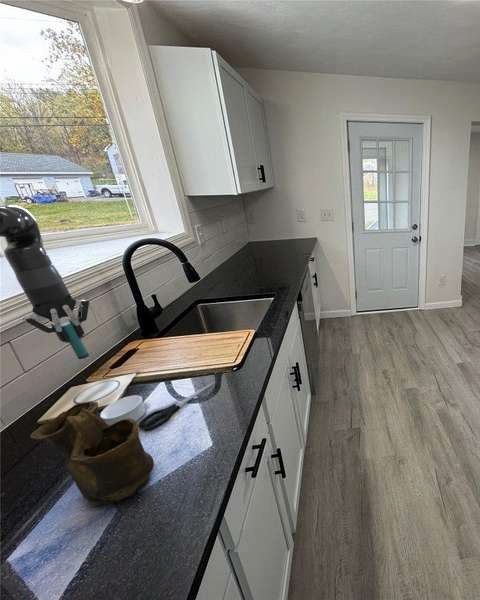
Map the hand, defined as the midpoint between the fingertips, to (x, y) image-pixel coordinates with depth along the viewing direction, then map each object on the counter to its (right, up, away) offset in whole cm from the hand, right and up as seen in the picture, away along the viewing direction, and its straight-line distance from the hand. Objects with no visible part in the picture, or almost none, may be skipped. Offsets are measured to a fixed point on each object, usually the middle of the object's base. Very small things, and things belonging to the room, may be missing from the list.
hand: (73, 339), depth 90 cm
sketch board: (0, -19, +6) cm, 19 cm away
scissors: (+32, -19, -1) cm, 37 cm away
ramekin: (+20, -21, -4) cm, 29 cm away
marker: (0, -6, +2) cm, 6 cm away
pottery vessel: (+35, -28, -23) cm, 51 cm away
